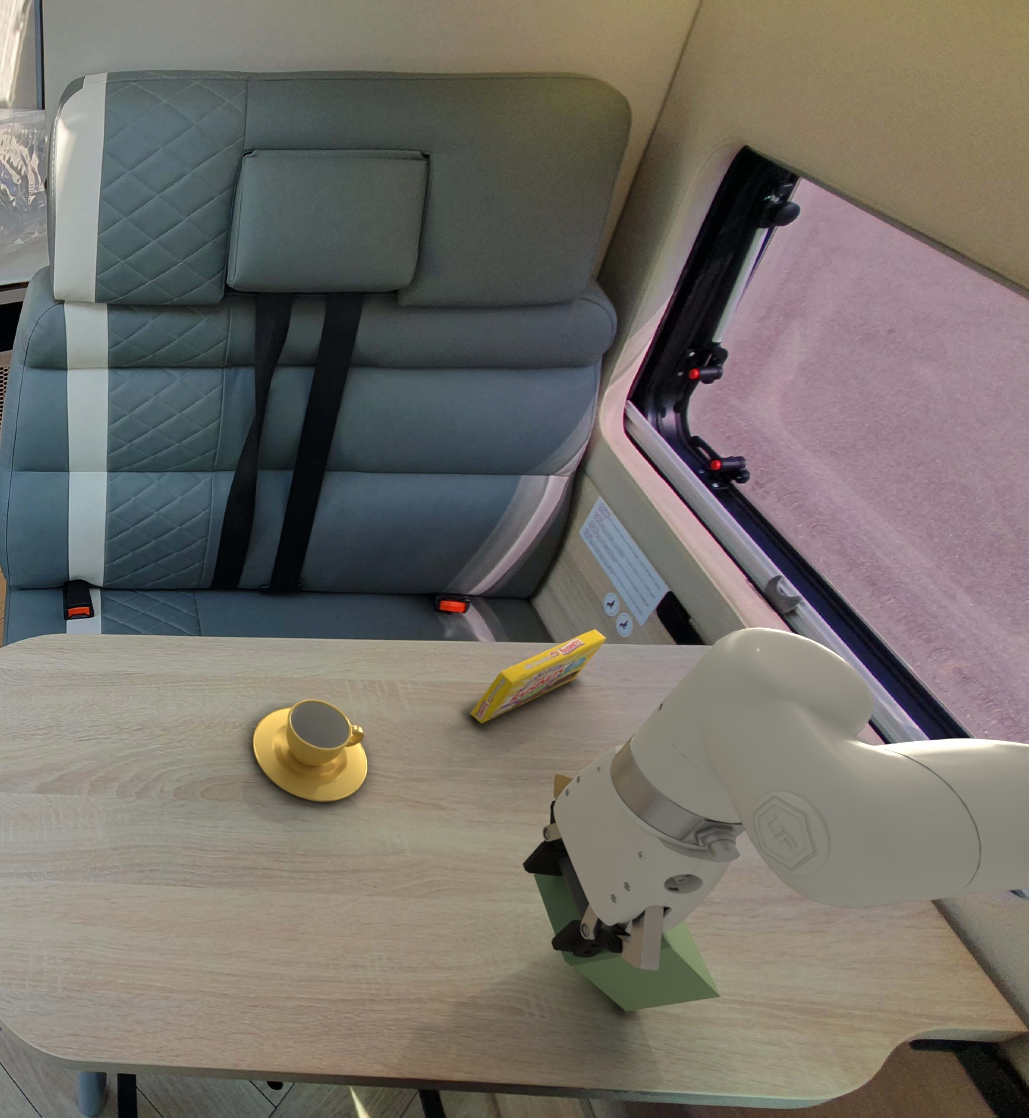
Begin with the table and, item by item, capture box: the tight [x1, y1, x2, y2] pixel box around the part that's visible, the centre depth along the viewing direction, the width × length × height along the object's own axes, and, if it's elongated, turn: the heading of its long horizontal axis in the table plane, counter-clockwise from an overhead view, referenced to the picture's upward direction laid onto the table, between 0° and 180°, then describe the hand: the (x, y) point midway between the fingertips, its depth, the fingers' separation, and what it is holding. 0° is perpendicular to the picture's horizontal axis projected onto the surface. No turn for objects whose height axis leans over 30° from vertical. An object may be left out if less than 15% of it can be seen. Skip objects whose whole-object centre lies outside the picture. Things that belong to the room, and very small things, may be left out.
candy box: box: [470, 628, 607, 724], centre depth 91 cm, size 15×2×8 cm, turn 116°
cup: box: [252, 698, 368, 803], centre depth 85 cm, size 12×12×5 cm
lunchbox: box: [533, 855, 721, 1012], centre depth 66 cm, size 7×8×15 cm
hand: (557, 906), depth 65 cm, fingers closed on lunchbox, 5 cm apart
